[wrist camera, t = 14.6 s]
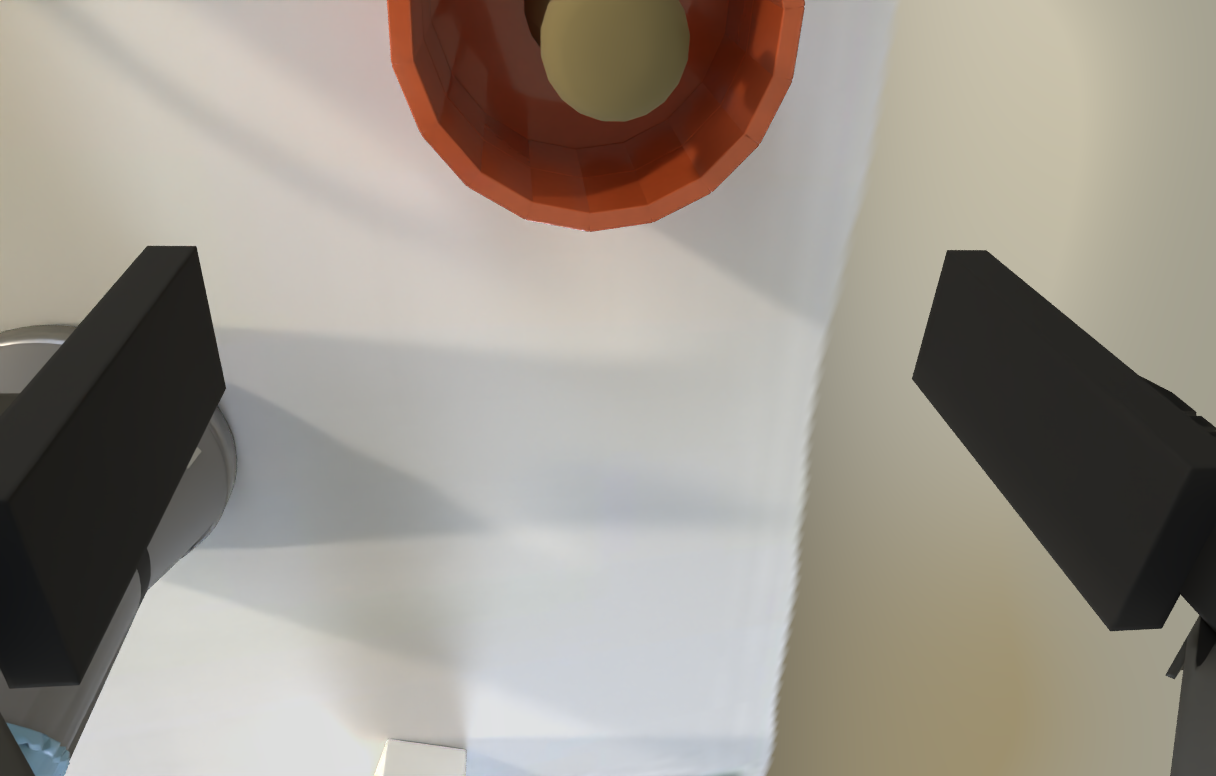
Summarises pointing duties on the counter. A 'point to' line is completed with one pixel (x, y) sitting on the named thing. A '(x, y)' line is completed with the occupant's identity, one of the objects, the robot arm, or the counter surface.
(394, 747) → the milk
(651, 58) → the cork
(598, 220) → the pot
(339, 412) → the counter surface
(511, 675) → the counter surface
